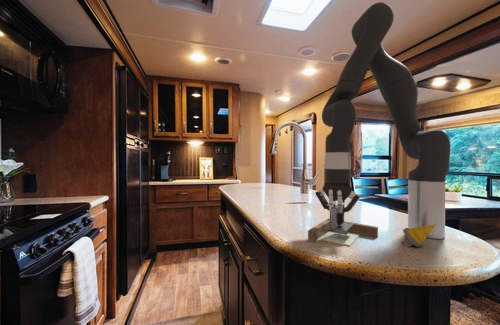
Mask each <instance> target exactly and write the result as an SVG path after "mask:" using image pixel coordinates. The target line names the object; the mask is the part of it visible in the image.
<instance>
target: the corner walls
mask: <svg viewBox="0 0 500 325" xmlns="http://www.w3.org/2000/svg"><path fill="white" fill-rule="evenodd" d="M344 223H348V224H353V229H352V230H351V231H350V232H349V233H353V234H359V236H365V237H371V238H376V239H377V238H378V237H379V226H375V225H368V224H364V223H358V222H350V221H346V220H344ZM329 231H330V218H327V219H325V220H324V221H322V222H320V223H319V224H317V225H315V226H313V227H312V228H310V229H308V230H307V241H308V242H311V243H315V242H316V241H317V240H319V238H321V237H323V236H324V235H326V234H327V233H328V232H329Z"/></svg>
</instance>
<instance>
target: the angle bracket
mask: <svg viewBox="0 0 500 325" xmlns="http://www.w3.org/2000/svg"><path fill="white" fill-rule="evenodd" d="M329 219H330V230H329V231H330V233H331V232H334V233H339V234H344V235H347V234H348V233H349V232H350V231H351V230H352V229H353V224H348V223H343V224H342V225H341V226H340V225H339V207H338V203H336V205H335V206H333V207H332V208H331V213H330V212H329Z"/></svg>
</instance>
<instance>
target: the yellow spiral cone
mask: <svg viewBox="0 0 500 325" xmlns="http://www.w3.org/2000/svg"><path fill="white" fill-rule="evenodd" d="M435 226H436V224H434V225H428V226H422V227H416V228H410V229H409V228H408V227H406V228H404V229H402V230H403V231H402V232H403V234H404V237H403V238H404V239H403V241H402V244H403V243H404V244H403V245H405V244H406V245H405V246H407V245H408V246H407V247H409V246H410V247H412V246H413V245H414V246H415V247H417V248H420V247H423V243H424V241H425V240H426V239H428V238H427V235H429V234H430V232H431V231H432V230H433V228H434V227H435Z"/></svg>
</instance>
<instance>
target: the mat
mask: <svg viewBox="0 0 500 325" xmlns="http://www.w3.org/2000/svg"><path fill="white" fill-rule="evenodd" d="M359 237H360V235H359V234H354V233H348V234H347V235H344V234H339V233H334V232H330V233H328V234H327V235H326V236H325V237H323V238H322V241H326V242H329V243H333V244H338V245H342V246H343V245H344V246H347V247H352V245H353V244H354V243H355V242H356V240H357V239H358V238H359Z"/></svg>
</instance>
